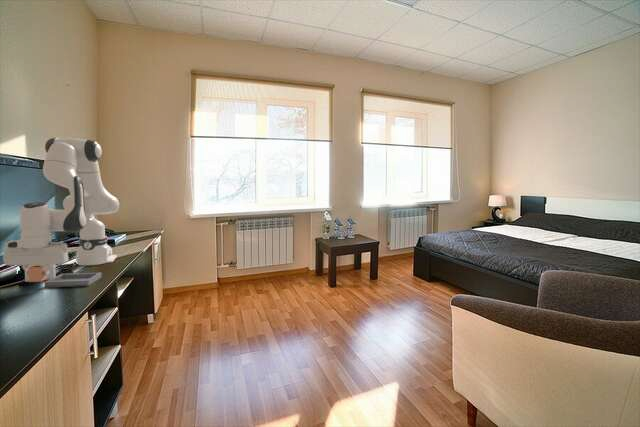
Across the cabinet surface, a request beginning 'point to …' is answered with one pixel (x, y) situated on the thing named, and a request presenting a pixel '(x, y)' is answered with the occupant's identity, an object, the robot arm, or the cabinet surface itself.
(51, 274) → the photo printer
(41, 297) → the cabinet surface
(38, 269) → the terracotta block
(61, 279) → the tray
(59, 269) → the cabinet surface
